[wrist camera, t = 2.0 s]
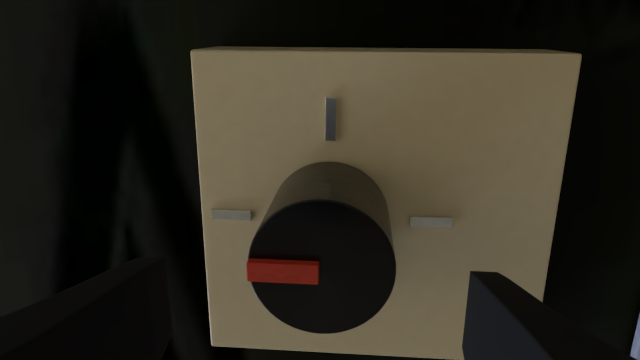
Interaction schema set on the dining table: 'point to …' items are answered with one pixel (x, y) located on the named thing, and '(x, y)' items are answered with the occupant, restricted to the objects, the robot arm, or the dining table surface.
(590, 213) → the dining table surface
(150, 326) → the robot arm
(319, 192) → the knob
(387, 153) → the panel
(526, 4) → the dining table surface
